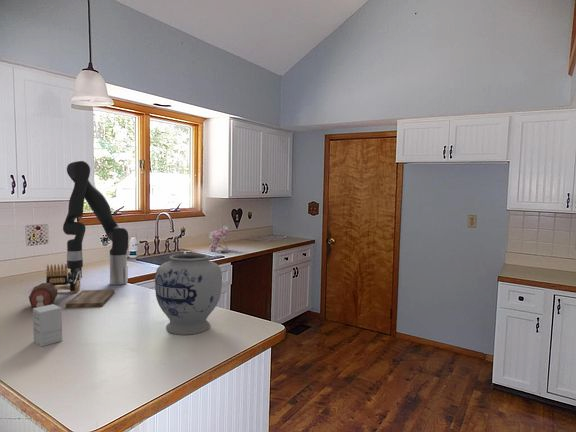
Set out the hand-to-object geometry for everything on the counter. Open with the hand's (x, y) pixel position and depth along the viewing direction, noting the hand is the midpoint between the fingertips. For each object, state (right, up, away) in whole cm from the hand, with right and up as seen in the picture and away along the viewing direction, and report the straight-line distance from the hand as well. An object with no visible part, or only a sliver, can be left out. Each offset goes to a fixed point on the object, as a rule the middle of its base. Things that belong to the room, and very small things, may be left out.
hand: (75, 289), depth 211 cm
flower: (+51, +7, +138) cm, 147 cm away
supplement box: (+26, -7, -66) cm, 71 cm away
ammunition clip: (-18, 0, +14) cm, 23 cm away
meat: (-1, -4, -26) cm, 26 cm away
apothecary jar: (+73, -7, -48) cm, 88 cm away
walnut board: (+16, -3, -14) cm, 21 cm away
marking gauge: (-4, -1, -1) cm, 4 cm away
